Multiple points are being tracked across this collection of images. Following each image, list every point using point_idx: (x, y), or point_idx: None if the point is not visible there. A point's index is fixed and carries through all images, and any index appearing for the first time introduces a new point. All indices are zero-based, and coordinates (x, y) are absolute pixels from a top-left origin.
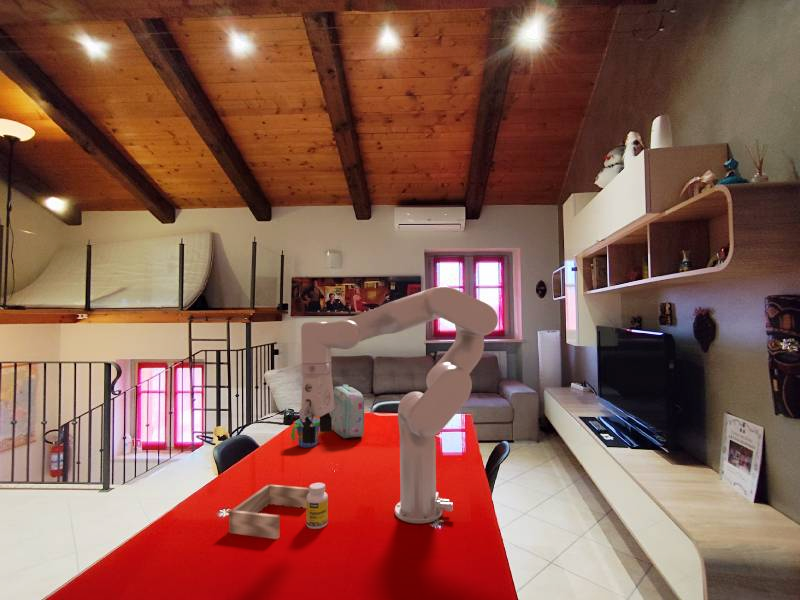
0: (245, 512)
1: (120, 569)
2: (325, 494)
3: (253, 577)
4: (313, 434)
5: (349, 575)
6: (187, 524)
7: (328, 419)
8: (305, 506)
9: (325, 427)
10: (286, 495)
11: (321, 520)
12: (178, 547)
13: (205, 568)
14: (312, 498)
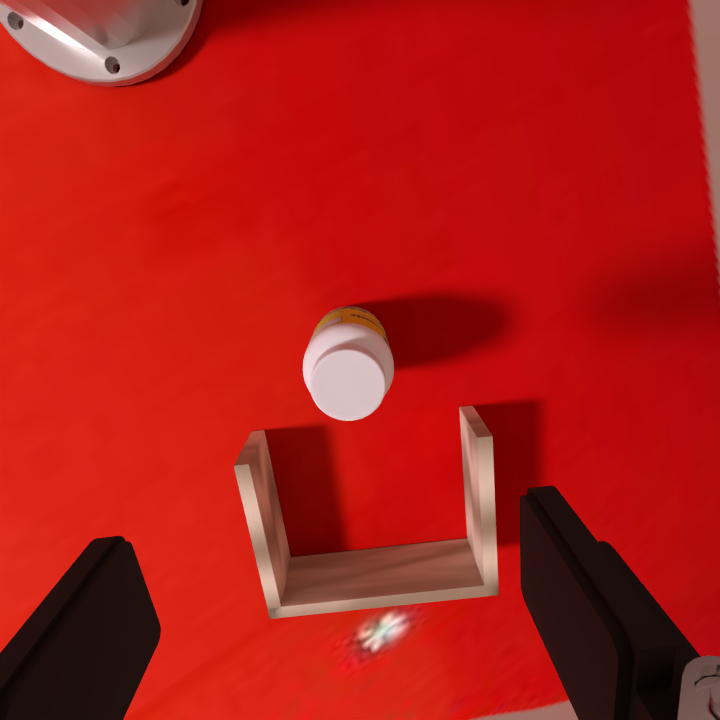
0: (489, 549)
1: None
2: (336, 337)
3: (660, 346)
4: (599, 559)
5: (604, 62)
6: (471, 663)
7: (37, 699)
8: (265, 442)
9: (122, 623)
10: (272, 526)
11: (370, 316)
12: None
13: (643, 484)
14: (389, 371)
